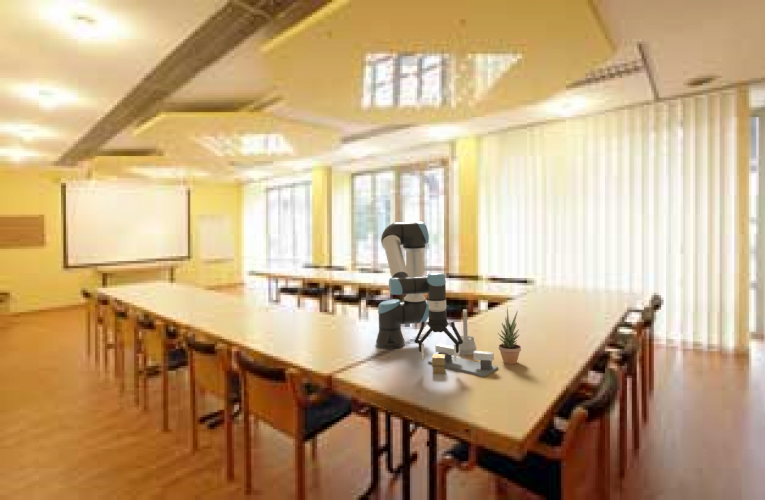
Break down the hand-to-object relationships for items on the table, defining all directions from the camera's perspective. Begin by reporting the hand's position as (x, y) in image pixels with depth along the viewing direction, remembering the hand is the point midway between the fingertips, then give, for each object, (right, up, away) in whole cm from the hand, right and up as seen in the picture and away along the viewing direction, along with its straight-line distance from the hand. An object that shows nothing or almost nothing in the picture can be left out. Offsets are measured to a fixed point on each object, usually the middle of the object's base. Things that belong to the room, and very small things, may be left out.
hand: (439, 359), depth 174 cm
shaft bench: (+11, -5, +7) cm, 14 cm away
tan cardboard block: (0, -5, +1) cm, 5 cm away
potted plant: (+33, -4, +10) cm, 35 cm away
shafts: (+12, 0, +7) cm, 14 cm away
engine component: (+17, -4, +28) cm, 33 cm away
